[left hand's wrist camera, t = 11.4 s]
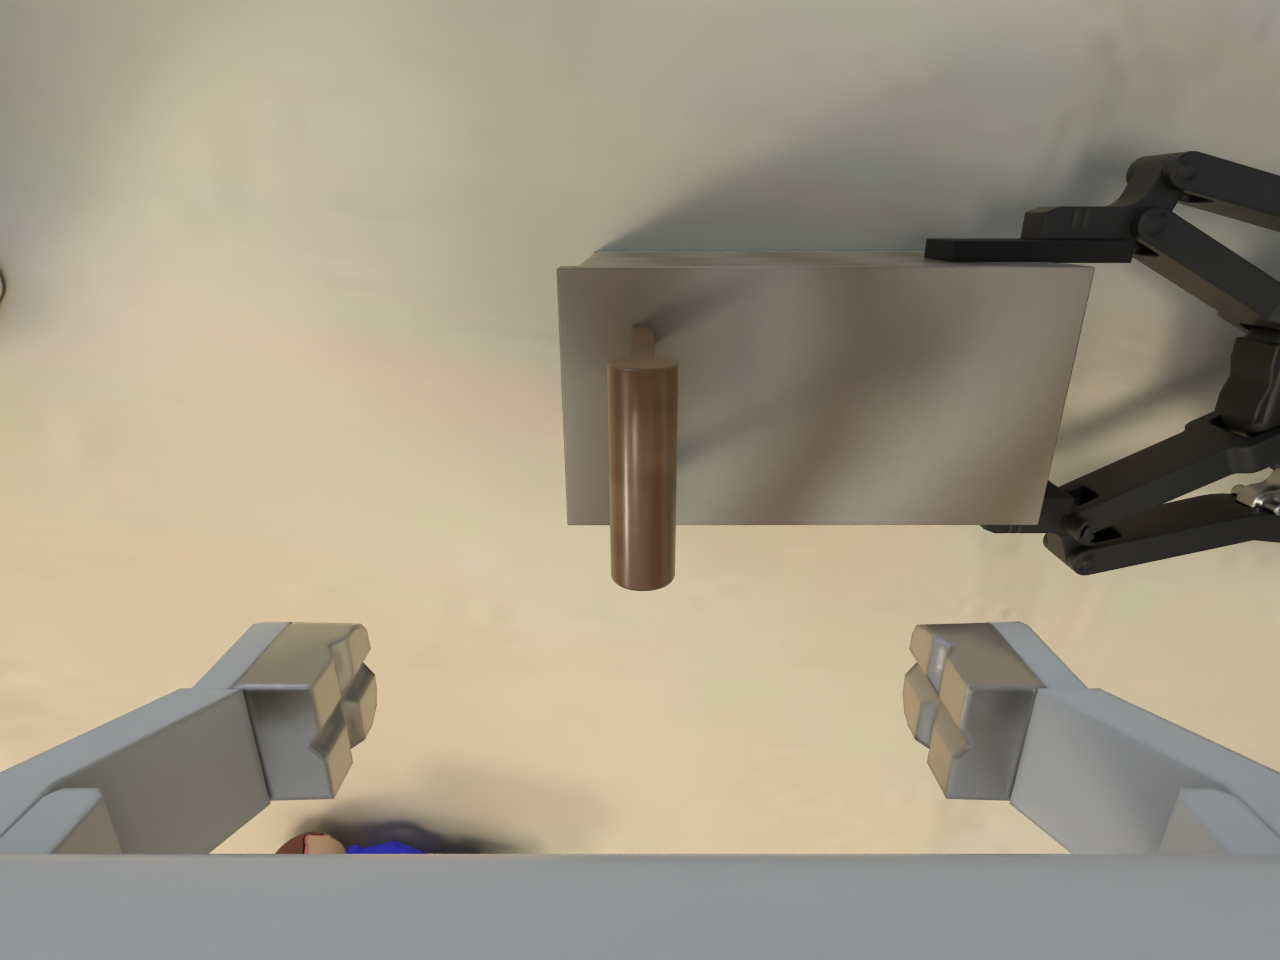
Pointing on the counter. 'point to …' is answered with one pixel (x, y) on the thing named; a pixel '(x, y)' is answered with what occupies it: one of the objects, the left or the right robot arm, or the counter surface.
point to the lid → (809, 397)
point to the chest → (776, 258)
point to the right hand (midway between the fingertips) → (920, 380)
